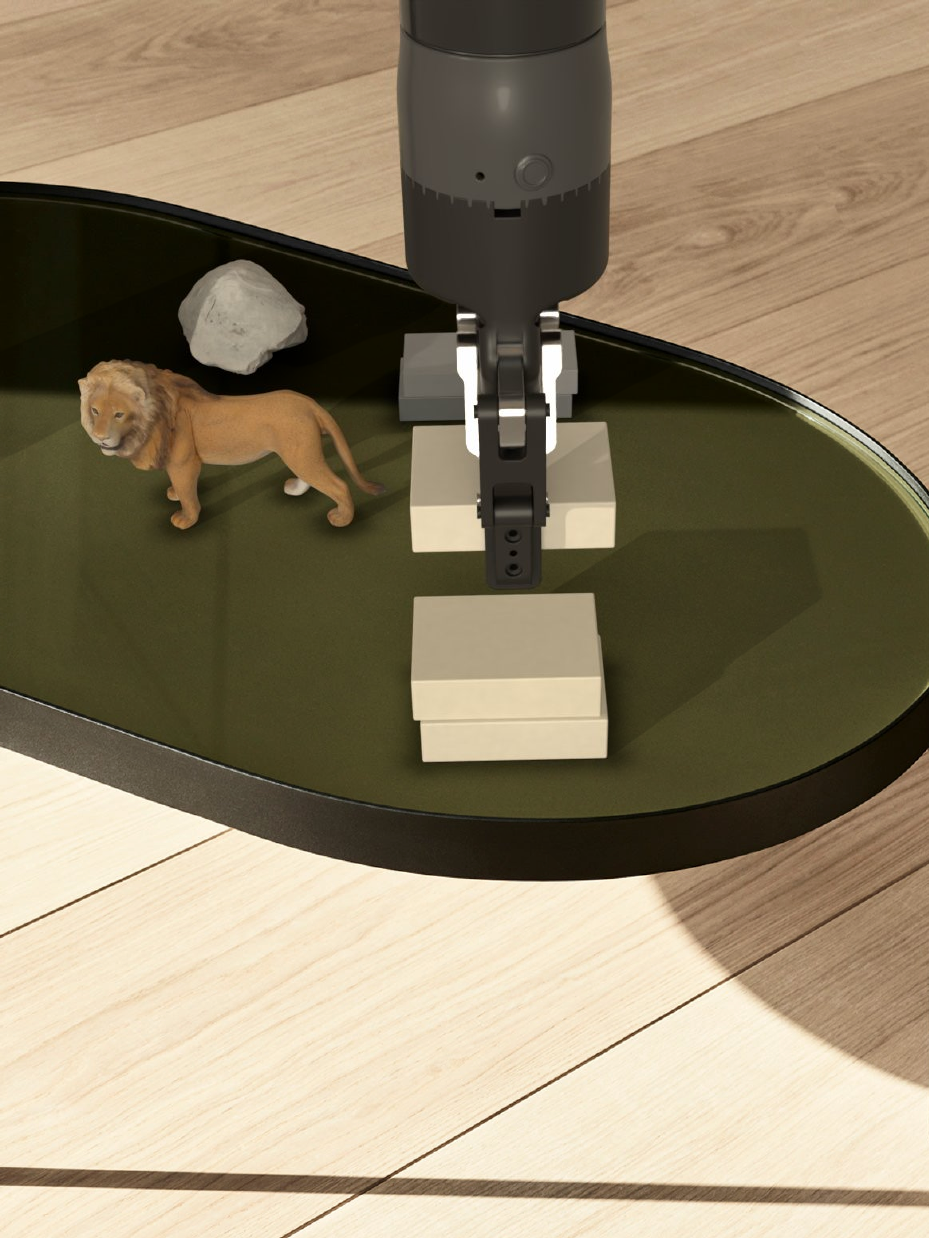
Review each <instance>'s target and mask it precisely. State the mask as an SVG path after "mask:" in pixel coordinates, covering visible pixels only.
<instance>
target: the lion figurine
mask: <svg viewBox="0 0 929 1238" xmlns="http://www.w3.org/2000/svg"><path fill="white" fill-rule="evenodd" d="M77 384H78V386H79V391H80V394H81V395H80V397H79V398H80V414H81V415H80V422H81V426H82V427H83V429H84V430H85V432H86V433H87V435H88V436H89V438H91V440H92V441H93V443H94V444H97V445H98V446H99V448H100V450H101V452H102V454H104V455H105V456H110V457H111V456H112V457H113V456H118V457H119V458H124V459H127V460H130V462H131V463H132V464H133V466H134V467H135V468H136V469H138V470H142V471H149V472H150V471H159V472H161V471H166V472H167V475H168V477H169V479H170V482H171V486H169V487H168V488H167V490H166V495H167V498H168V499H169V500H170V501H179V502H180V505H181V509H179V510H177V511H175V512H174V513H173V514H172V515H171V517H170V522H171V523H172V525H173V526H174V527H176V528H178V529H180V530H186V529H189V528H191V527H192V526H194V525H195V524H196V523H197V522H198V520H199V515H200V512H201V510H202V507H201V503H200V500H199V497H198V496H199V495H198V479H199V476H200V475H201V471H202V464H204V465H205V464H206V465H207V464H208V465H218V466H219V465H220V466H239V465H240V466H241V465H246V464H247V465H248V464H251V463H253V462H257V461H259V460H260V459H263V458H264V457H266V456H268V455H270V454H272V453H273V452H275V453H276V454H277V455H278V456H279V457H280V459H281V460H282V462H283V463H284V465H286V466H287V467H288V469H290V471H291V472H292V473H293V474H294V475H295V476H296V477H294V478H293V477H292V478H291V477H290V478H288V479H286V481H285V483H284V486H283V491H284V493H285V494H287V495H290V496H301V495H304V494H305V493H306V492H307V491H308V490H309V489H310V488H311V487H312V488H314V489H316V490H317V491H318V492H320V493H323V494H324V495H325V496H327V497H329V498H330V499H332V501H334V502H335V503H336V504H337V506H336V507H332V509H330V510H329V511H328V512H327V513H326V517H327V520H328V521H329V523H330V524H331V525H332V526H334V527H337V528H341V527H346V526H348V525H350V523H352V522H353V519H354V517H355V516H354V515H355V504H354V501H353V500H354V499H353V497H352V494H351V492H350V487H349V485H348V483H347V482H346V481H345V480H344V479H342V478H341V477H339V476H338V475H337V474H336V473H335V472H334V471H333V470H332V468H331V467H330V465H329V464H328V462H327V460H326V457H325V454H324V450H323V443H322V442H323V441H322V436H323V435H328V436H329V438H330V440H331V442H332V444H333V446H334V448H335V450H336V452H337V454H338V456H339V458H340V460H341V461H342V464H343V467H344V468H345V471H346V472H347V474H348V476H349V477H350V479H351V480H352V481H353V483H354V484H355V485H356V486H357V487H358V488H359V489H360V490H361V491H362V492H364V493H366V494H369V495H372V496H374V497H375V496H377V495H382V494H384V493H385V492H386V491H387V487H386V486H385V484H384V483H380V482H378V481H373V480H367V479H365V478H364V477H363V476H362V475H361V474H360V472H359V469H358V468H357V465H356V462H355V461H354V460H355V459H354V457H353V455H352V452H351V450H350V448H349V445H348V443H347V440H346V437H345V436H344V434H343V432H342V429H341V428H340V426H339V425H338V424H337V422H336V420H335V419H334V418H333V416H332V415H331V414H330V413H329V412H328V411H327V410H326V409H324V407H322V406H321V405H319V404H318V402H317V401H316V400H315V399H313V398H312V397H310V396H308V395H305V394H302V393H300V392H297V391H294V390H291V389H279V390H274V391H270V392H269V391H268V392H265V393H257V394H248V395H220V394H219V395H218V394H215V393H212V392H209V391H207V390H206V389H205V388H203V387H202V386H201V385H200V384H199V383H198V382H196V381H195V380H193V379H192V378H190V377H188V376H185V375H182V374H180V373H176V372H175V373H174V372H173V371H172V370H170V369H167V368H166V369H161V368H158V367H157V366H156V365H155V364H154V363H145V362H142V361H139V360H135V361H134V360H131V359H129V358H126V359H124V360H120V359H118V360H117V359H113V358H112V359H111V360H109V361H108V362H107V361H100V362H99V363H98V364H96V365H94V366H93V368H91V369H90V371H89V372H87V375H86V377H83V378H80V379H78V380H77Z"/></svg>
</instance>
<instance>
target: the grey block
mask: <svg viewBox="0 0 929 1238" xmlns="http://www.w3.org/2000/svg"><path fill="white" fill-rule="evenodd" d="M575 334H576V333H575V330H574V329H571V330H570V329H569V330H568V329H566V330H565V329H564V330H562V329H561V335H562V370H561V373H560V374H559V376H558V377H557V378H556V419H570V418H572V417H573V395H577V394H578V393H579V392H578V391H579V367H578V355H577V347H576V336H575ZM403 337H404V342H403V357H400V360H399V361H400V362H399V363H400V364H399V378H398V379H399V381H398V413H399V415H398V416H399V422H424V421H425V422H428V421H432V422H433V421H434V422H435V421H465V385H464V381H463V379H462V378H461V377H460V375H459V374H458V370H457V338H456V332H422V333H404V336H403ZM540 391H541V393H542V388H541V386H540ZM478 392H479V389H478Z"/></svg>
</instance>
